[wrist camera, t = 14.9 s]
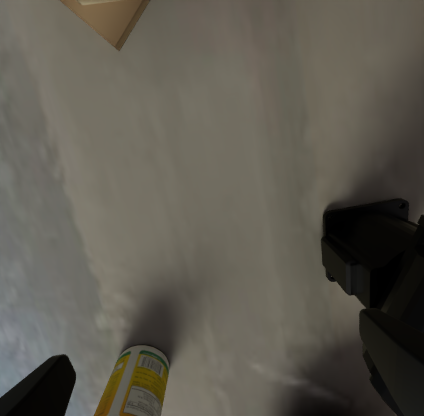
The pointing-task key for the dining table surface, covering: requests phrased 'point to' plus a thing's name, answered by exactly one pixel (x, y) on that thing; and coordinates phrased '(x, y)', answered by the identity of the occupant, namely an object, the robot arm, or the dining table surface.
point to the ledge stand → (109, 17)
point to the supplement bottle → (136, 384)
